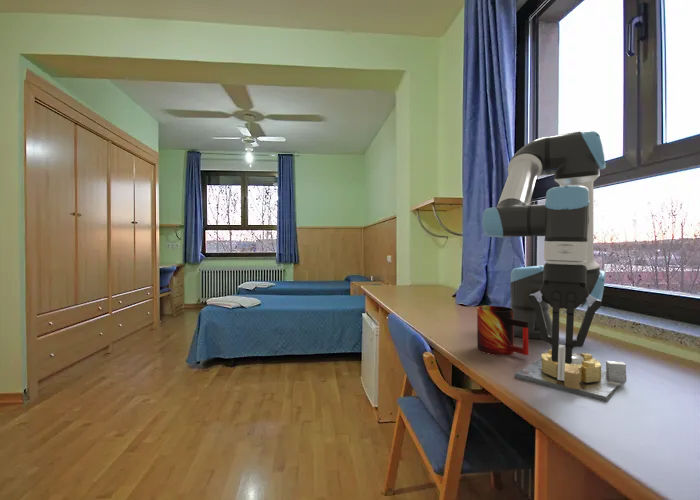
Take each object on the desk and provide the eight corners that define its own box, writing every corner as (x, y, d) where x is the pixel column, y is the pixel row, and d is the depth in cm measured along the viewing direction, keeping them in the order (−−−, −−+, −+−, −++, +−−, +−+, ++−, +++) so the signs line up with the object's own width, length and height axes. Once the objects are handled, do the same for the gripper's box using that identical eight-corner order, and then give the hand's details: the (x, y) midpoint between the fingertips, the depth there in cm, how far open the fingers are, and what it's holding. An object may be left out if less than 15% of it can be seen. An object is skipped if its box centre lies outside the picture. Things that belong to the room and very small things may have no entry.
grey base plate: (543, 361, 90) (543, 342, 90) (630, 380, 76) (630, 357, 76) (514, 377, 78) (514, 355, 78) (611, 403, 65) (611, 376, 65)
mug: (528, 360, 91) (528, 314, 91) (473, 351, 99) (473, 309, 99) (532, 351, 99) (532, 308, 99) (481, 344, 107) (481, 304, 107)
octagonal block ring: (542, 362, 85) (542, 346, 85) (597, 369, 80) (597, 353, 80) (540, 382, 72) (540, 364, 72) (606, 393, 66) (606, 374, 66)
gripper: (527, 262, 71) (524, 377, 71) (605, 265, 64) (600, 392, 65) (531, 261, 77) (527, 366, 78) (601, 263, 71) (597, 379, 71)
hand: (561, 378), depth 71 cm, fingers closed
